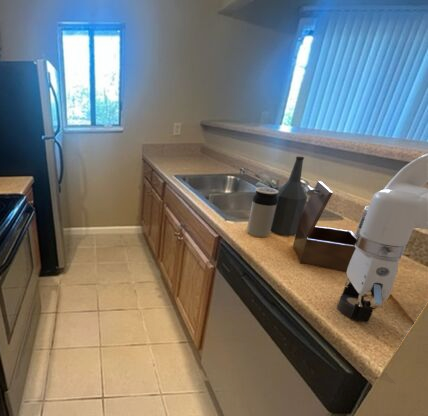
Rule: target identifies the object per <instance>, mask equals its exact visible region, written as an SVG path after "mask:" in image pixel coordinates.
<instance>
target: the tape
mask: <svg viewBox="0 0 428 416" xmlns="http://www.w3.org/2000/svg"><path fill="white" fill-rule="evenodd" d="M358 298H359V297H357V296H354V295H347V294H346V295H342V294H341V295H340V297H339V300H338V302H337V305H336V308H337V311H339V312H340V313H341V314H342V315H344V316H345V317H346V318H349V319H352V318H351V317H350V315H351V313H352V310H353V308H354V305H355V304H358ZM364 301H367V300H366V299H364ZM352 320H355V319H352ZM355 321H356V320H355ZM357 321H358V322H361V321H360V320H357Z"/></svg>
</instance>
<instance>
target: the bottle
mask: <svg viewBox="0 0 428 416" xmlns="http://www.w3.org/2000/svg"><path fill="white" fill-rule="evenodd" d="M304 159H305V157H304V156H299V155H298V156H296V157H295V161H294V165H293V167H292V170H291V172H290V174H289V177H288V179H287V181H286V182H285V183H284V184H283V185H281V187H280V188H279V189H277V190H278V193H277V196H276V197H277V205H276V209H275V213H274V217H273V222H272V226H271V230H270V233H273V234H274V235H275V234H276V235H278V236H283V237H295V236H296V232H297V228H298V225H299V224H298V221H299V219H300V217H301V215H302V213H303V211H304V209H305V207H306V205H307V200H308V197H307V193H306V192H305V190H304V189H303V188H304V186H303V185H302V183H301V180H302V179H301V178H302V171H303V165H304V164H303V163H304Z"/></svg>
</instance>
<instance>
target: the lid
mask: <svg viewBox="0 0 428 416" xmlns="http://www.w3.org/2000/svg"><path fill="white" fill-rule="evenodd" d="M303 190H304V192H305V194H306V195H308V196H310V197H309V198H308V201H307V202H306V204H305V208H304V211H303V213H302V215H301V217H300V219H299V221H298V224H299V226H300V227H301V229H302V231H303V233H304V235H305V237H306V238H309V237H310V235H311V233H312V231H313V229H314V228H315V226H317V224H318V222H319V220H320V219H321V216H322V215H323V212H324V211H325V209H326V207H327V205H328V203H329V201H330V200H331V197H332V195H333V194H334V192H333V191H332V190H331V189H330V188H329V187H328V186H327V185H326V184H324V183H323V181H320V180H317V182H316V184H315V187H314V188H313V187H311V186H310V185H304V186H303Z"/></svg>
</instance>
